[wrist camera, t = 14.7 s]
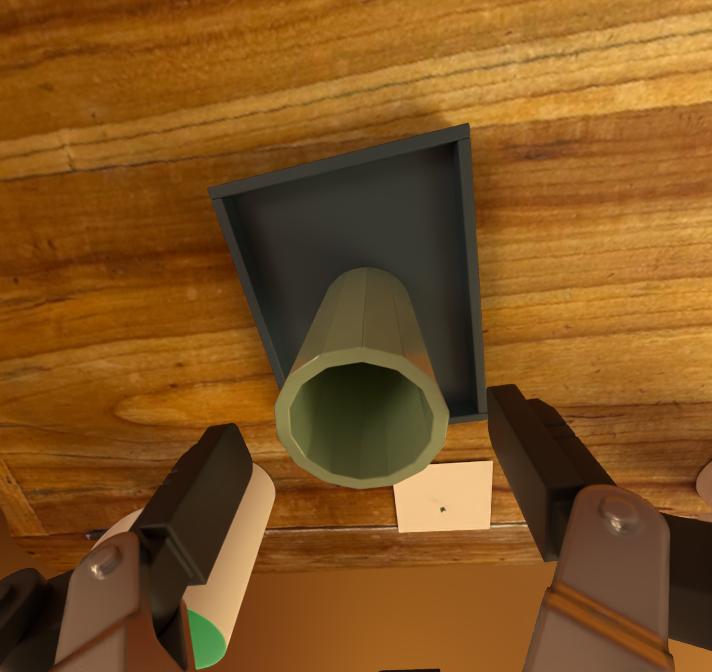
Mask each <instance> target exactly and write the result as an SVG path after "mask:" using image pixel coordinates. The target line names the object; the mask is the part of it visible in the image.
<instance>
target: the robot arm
mask: <svg viewBox="0 0 712 672" xmlns="http://www.w3.org/2000/svg"><path fill="white" fill-rule="evenodd" d="M486 400H487V417H488V430H489V436H490V440H491V444H492V447H493V449H494V452H495V454H496V456H497V458H498V460H499V463H500V465H501V467H502V469H503V472H504V474H505V476H506V478H507V480H508V483H509V485H510V487H511V489H512V492H513V494H514V496H515V498H516V500H517V503H518V505H519V507H520V509H521V511H522V514H523V516H524V518H525V520H526V523H527V525H528V527H529V529H530V531H531V534H532V536H533V538H534V540H535V542H536V545H537V547H538V549H539V551H540V554H541V556H542V558H543V560H544V562H549V561H558V563H557V566H556V570H555V574H554V578H553V581H552V584H551V586H550V587H548V588H547V589H546V591H545V594H544V597H543V600H542V603H541V607H540V610H539V614H538V618H537V621H536V624H535V628H534V632H533V635H532V639H531V642H530V646H529V649H528V653H527V657H526V660H525V664H524V667H523V671H522V672H675V666H674V659H673V656H672V654H670V653H669V648H668V638H670V639H673V640H676V641H680V642H683V643H687V644H691V645H693V646H697V647H700V648H704V649H707V650H710V651H712V522H707V521H701V520H695V519H690V518H684V517H678V516H673V515H669V514H665V513H662V512H659V510H658V509H657V508H655V507H654V506H653V505H652V504H651V503H650V502H648V501H647V500H646V499H644V498H642V497H641V496H639V495H637V494H635V493H633V492H631V491H629V490H626V489H624V488H621V487H618V486H617V485H616V484H615V483H614V481H613V480H612V479H611V478H610V476H609V475H608V474H607V473H606V471H605V470H604V469H603V468H602V466H601V465H600V464H599V463H598V462H597V460H596V459H595V458H594V457H593V455H592V454H591V453H590V452H589V450H588V449H587V448H586V447H585V445H584V444H583V443H582V442H581V440H580V439H579V438H578V437H576V436H575V433H574V432H573V431H572V429H571V428H570V427H569V426H568V425H566V422H565V421H564V419H563V418H562V417H561V416H560V415H559V413H558V412H557V411H556V410H555V408H553V407H551V406H550V405H548V404H546V403H545V402H543V401H541V400H540V399H538V398H535V399H528V400H526V399H525V397H524V396H523V395H522V393H521V392H520V390H519V389H518V388H517V386H516V385H515V384H506V385H500V386H493V387H487V389H486ZM252 472H253V462H252V458H251V455H250V453H249V451H248V448H247V446H246V444H245V442H244V440H243V437H242V435H241V433H240V431H239V428H238V427H237V425H236V424H234V423H229V424H222V425H215V426H210V427H209V428H208V429H207V430H206V431H205V433H204V434H203V436H202V437H201V438H200V440H199V441H198V443H197V444H195V445H194V446H192V447H191V448H190V449H189V450H188V451H187V452H186V453H185V454H183V455H182V456H181V457H180V459H179V460H178V462H177V463H176V464H175V466H174V467H173V469H172V470H171V473H169V474H168V476H167V477H166V478H165V480H164V481H163V485H160V487H159V488H158V490H157V491H156V492H155V494H154V495H153V497H152V498H151V499H150V501H149V502H148V504H147V505H146V506H145V508H144V509H143V510H142V512H141V513H140V515H139V516H138V517H137V519H136V520H135V522H134V523H133V524H132V526H131V527H130V529H129V530H128V531H127V532H122V533H118V534H116V535H113V536H111V537H109V538H107V539H106V540H104V541H103V542H101V543H100V544H98V545H97V546H96V547H95V548H93V549H92V550H91V551H90V552H89V553H88V554H87V555H86V556H85V557H84V558H83V559H82V560H81V562H80V563H79V564H78V566H77V567H76V569H74V570H71V571H69V572H66V573H64V574H61V575H59V576H56V577H53V578H51V579H48V580H46V579H45V578H44V577H43V576H42V575H41V574H40V573H39V572H38V571H37V570H36V569H34V568H26V569H22V570H19V571H17V572H15V573H12V574H10V575H9V576H7V577H5V578H3V579H2V580H0V671H1V672H196V665H195V659H194V652H193V645H192V639H191V632H190V625H189V618H188V612H187V605H186V602H185V600H184V599H183V595H184V593H185V590H186V588H187V586H195V585H206V583H207V581H208V578H209V576H210V574H211V571H212V569H213V567H214V564H215V562H216V560H217V557H218V555H219V552H220V550H221V548H222V545H223V543H224V541H225V538H226V536H227V534H228V531H229V529H230V527H231V524H232V522H233V519H234V517H235V515H236V512H237V510H238V508H239V505H240V503H241V501H242V498H243V496H244V493H245V491H246V489H247V486H248V484H249V482H250V479H251V477H252ZM379 672H440V669H415V670H386V671H385V670H383V671H379Z"/></svg>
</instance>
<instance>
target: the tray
mask: <svg viewBox="0 0 712 672" xmlns="http://www.w3.org/2000/svg"><path fill="white" fill-rule="evenodd" d="M469 137H470V125H469V123H465V124H461V125H457V126H453V127H449V128H445V129H441V130H437V131H433V132H429V133H425V134H421V135H417V136H413V137H409V138H405V139H401V140H397V141H393V142H389V143H385V144H381V145H377V146H373V147H369V148H365V149H361V150H357V151H353V152H349V153H345V154H341V155H337V156H333V157H329V158H325V159H321V160H317V161H313V162H309V163H305V164H301V165H297V166H293V167H289V168H285V169H281V170H277V171H273V172H269V173H265V174H261V175H257V176H253V177H249V178H245V179H241V180H237V181H233V182H229V183H225V184H221V185H217V186H213V187H209V188H207V190H208V192H209V195H210V198H211V200H212V204H213V207H214V209H215V212H216V215H217V218H218V221H219V223H220V226H221V229H222V232H223V234H224V237H225V240H226V243H227V246H228V248H229V251H230V254H231V257H232V259H233V262H234V265H235V268H236V270H237V273H238V276H239V279H240V282H241V284H242V287H243V290H244V293H245V295H246V298H247V301H248V304H249V307H250V309H251V312H252V315H253V318H254V320H255V323H256V326H257V329H258V331H259V334H260V337H261V340H262V343H263V345H264V348H265V351H266V354H267V356H268V359H269V362H270V365H271V368H272V370H273V373H274V376H275V379H276V381H277V384H278V387H279V390H280V391H281V389H282V387H283V385H284V383H285V380H286V378H287V376H288V374H289V372H290V370H291V367H292V365H293V363H294V361H295V359H296V357H297V354H298V352H299V350H300V348H301V346H302V344H303V341H304V339H305V337H306V335H307V333H308V331H309V328H310V326H311V324H312V322H313V320H314V318H315V315H316V313H317V311H318V309H319V307H320V305H321V302H322V300H323V298H324V296H325V294H326V292H327V290H328V288H329V286H330V285H331V284H332V283H333V282H334V281H335V280H336V279H337V278H338V277H339V276H340V275H342V274H343V273H345V272H347V271H350V270H352V269H356V268H361V267H373V268H379V269H382V270H385V271H387V272H389V273H391V274H392V275H394V276H395V277H396V278H398V279H399V280H400V281H401V282H402V283H403V285H404V286H405V288H406V289H407V291H408V293H409V296H410V299H411V301H412V303H413V306H414V309H415V312H416V315H417V318H418V321H419V324H420V327H421V330H422V333H423V336H424V338H425V341H426V344H427V347H428V350H429V353H430V356H431V359H432V362H433V365H434V368H435V371H436V374H437V377H438V380H439V383H440V386H441V389H442V392H443V395H444V398H445V400H446V403H447V406H448V409H449V414H450V415H449V421H448V425H450V424H458V423H465V422H473V421H480V420H487V419H488V417H487V400H486V381H485V365H484V349H483V333H482V317H481V301H480V285H479V269H478V253H477V237H476V221H475V205H474V189H473V173H472V157H471V141H470V138H469Z"/></svg>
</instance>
